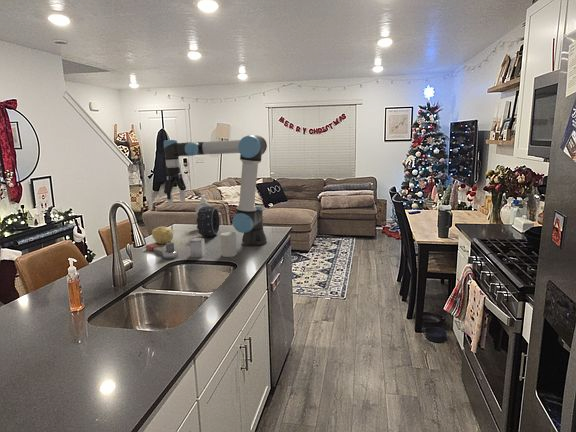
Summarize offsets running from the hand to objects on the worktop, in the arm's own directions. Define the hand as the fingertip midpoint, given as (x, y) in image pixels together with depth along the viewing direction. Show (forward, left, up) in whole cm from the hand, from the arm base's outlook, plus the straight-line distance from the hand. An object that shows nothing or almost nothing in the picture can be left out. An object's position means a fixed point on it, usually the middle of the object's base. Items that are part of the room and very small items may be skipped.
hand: (176, 203), depth 228 cm
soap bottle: (+14, -49, -27) cm, 58 cm away
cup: (-37, +8, -27) cm, 47 cm away
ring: (-2, -28, -27) cm, 39 cm away
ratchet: (+3, +15, -27) cm, 31 cm away
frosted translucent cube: (-20, +13, -27) cm, 36 cm away
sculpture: (+18, -6, -27) cm, 33 cm away
